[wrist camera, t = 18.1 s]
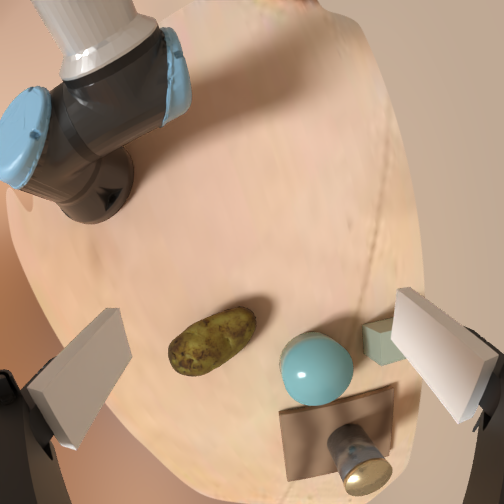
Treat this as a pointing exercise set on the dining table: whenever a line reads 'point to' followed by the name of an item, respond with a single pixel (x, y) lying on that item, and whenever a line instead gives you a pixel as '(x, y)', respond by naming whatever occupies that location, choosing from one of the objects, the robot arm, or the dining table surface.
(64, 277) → the dining table surface
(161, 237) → the dining table surface
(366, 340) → the sage box
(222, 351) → the potato
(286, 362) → the teal domed cylinder
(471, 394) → the robot arm
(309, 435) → the walnut board
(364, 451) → the tea tin
